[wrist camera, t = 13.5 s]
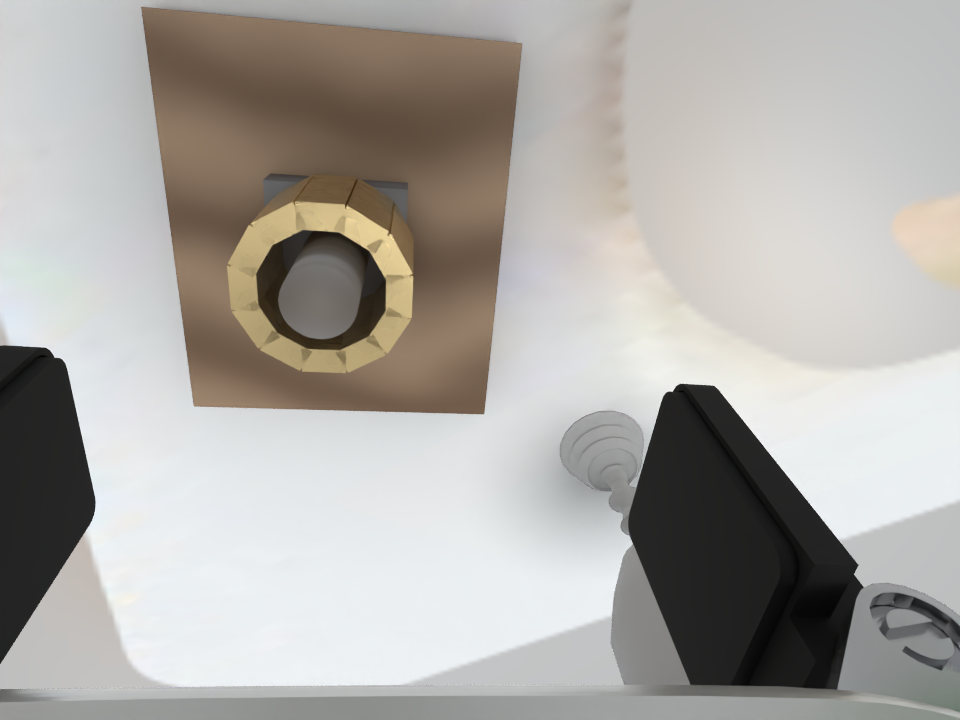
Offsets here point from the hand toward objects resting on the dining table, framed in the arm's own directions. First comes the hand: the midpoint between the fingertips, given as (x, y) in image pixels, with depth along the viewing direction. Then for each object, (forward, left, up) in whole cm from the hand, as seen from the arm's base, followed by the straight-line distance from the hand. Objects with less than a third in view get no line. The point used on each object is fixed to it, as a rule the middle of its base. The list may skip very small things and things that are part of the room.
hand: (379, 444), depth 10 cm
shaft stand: (+3, -3, -22) cm, 22 cm away
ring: (+3, -3, -19) cm, 20 cm away
